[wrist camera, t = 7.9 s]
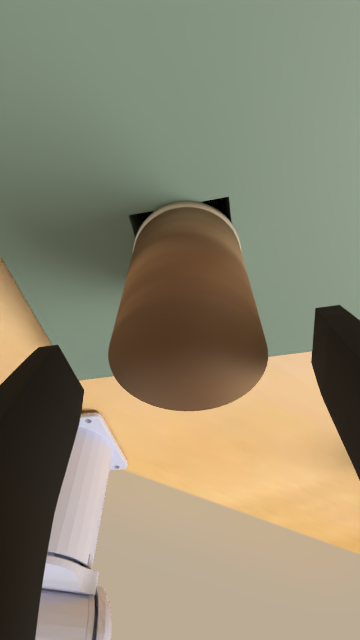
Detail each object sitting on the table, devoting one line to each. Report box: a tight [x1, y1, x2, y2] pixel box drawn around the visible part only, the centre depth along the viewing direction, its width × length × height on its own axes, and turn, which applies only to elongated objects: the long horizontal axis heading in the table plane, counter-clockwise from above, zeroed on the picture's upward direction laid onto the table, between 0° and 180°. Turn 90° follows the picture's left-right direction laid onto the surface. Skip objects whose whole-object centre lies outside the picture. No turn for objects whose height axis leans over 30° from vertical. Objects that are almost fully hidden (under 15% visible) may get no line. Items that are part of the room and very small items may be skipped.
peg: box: [108, 201, 268, 411], centre depth 13 cm, size 4×4×9 cm
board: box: [0, 0, 360, 380], centre depth 14 cm, size 16×18×2 cm
